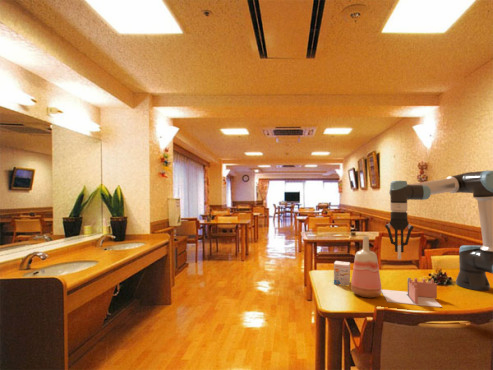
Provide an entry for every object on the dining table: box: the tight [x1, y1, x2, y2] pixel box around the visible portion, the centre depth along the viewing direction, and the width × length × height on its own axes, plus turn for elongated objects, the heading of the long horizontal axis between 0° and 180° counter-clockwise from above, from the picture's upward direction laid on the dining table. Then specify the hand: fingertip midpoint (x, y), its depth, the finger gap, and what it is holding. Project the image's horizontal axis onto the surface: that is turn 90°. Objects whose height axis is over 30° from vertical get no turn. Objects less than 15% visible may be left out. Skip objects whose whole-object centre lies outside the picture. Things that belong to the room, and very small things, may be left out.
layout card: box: [381, 289, 443, 308], centre depth 143 cm, size 23×18×1 cm
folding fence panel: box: [409, 278, 418, 304], centre depth 140 cm, size 11×1×9 cm, turn 165°
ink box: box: [333, 260, 351, 286], centre depth 167 cm, size 9×8×12 cm
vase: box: [350, 235, 382, 299], centre depth 148 cm, size 14×14×30 cm
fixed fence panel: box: [407, 277, 438, 299], centre depth 145 cm, size 13×1×9 cm, turn 74°
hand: (399, 258), depth 144 cm, fingers closed
